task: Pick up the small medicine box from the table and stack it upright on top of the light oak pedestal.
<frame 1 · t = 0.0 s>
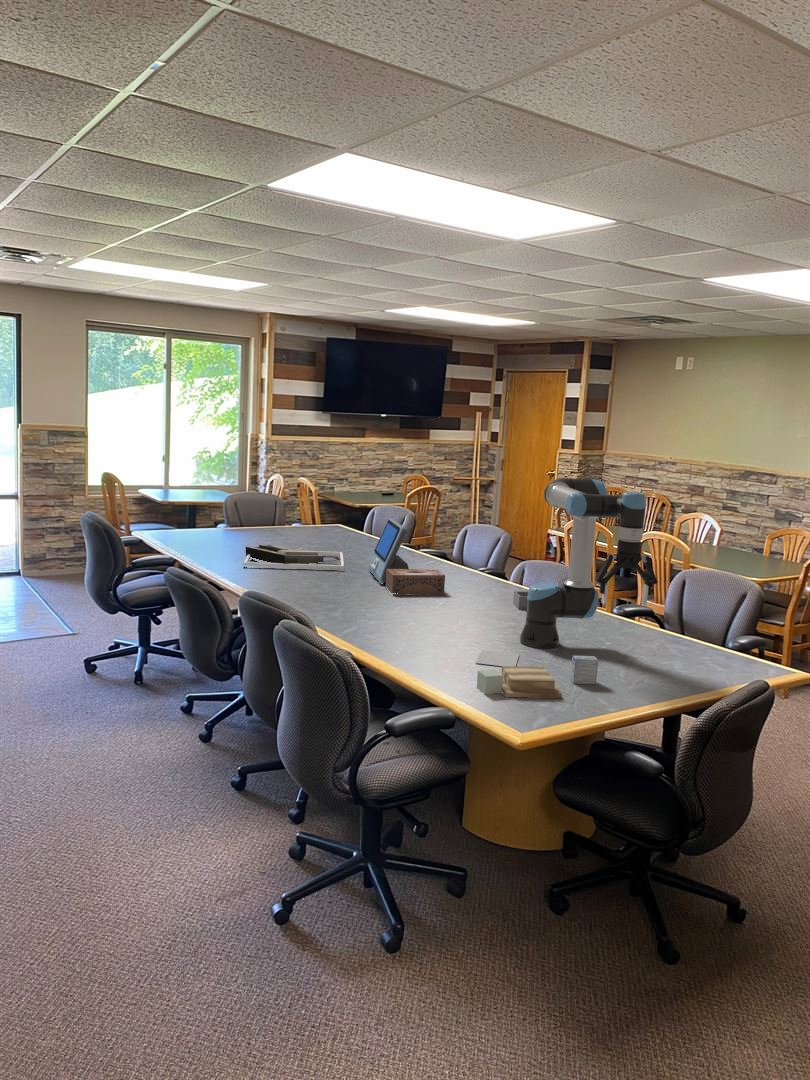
hand: (623, 604, 269), 28 cm above the table, tool pointing down, fingers open, 13 cm apart
mousetrap: (534, 605, 382), on the table, touching desk organizer
document tray rim: (295, 562, 458), on the table
tissue box cover: (414, 592, 400), on the table
pedestal: (526, 688, 266), on the table
green block: (489, 691, 262), on the table
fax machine: (295, 562, 458), on the table, touching document tray rim
touchscreen device: (389, 578, 428), on the table
desk organizer: (537, 607, 381), on the table
medicine box: (582, 683, 276), on the table
paper stack: (509, 665, 291), on the table
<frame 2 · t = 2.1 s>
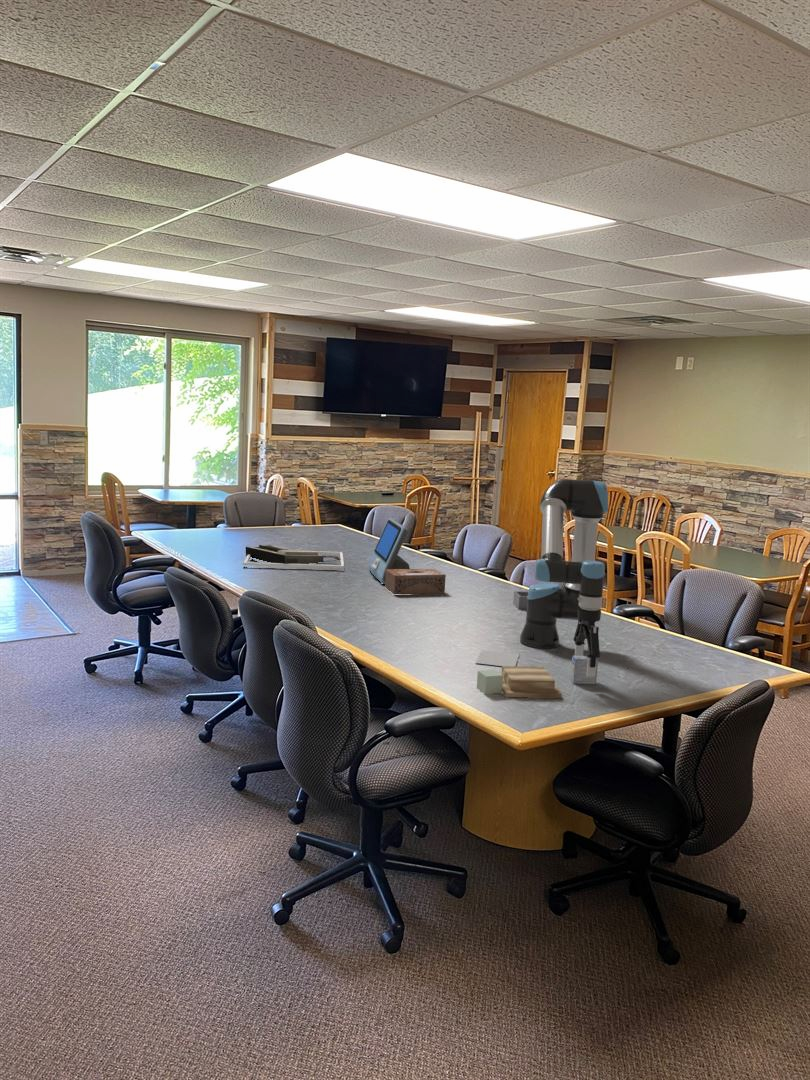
hand: (584, 670, 274), 4 cm above the table, tool pointing down, fingers open, 13 cm apart
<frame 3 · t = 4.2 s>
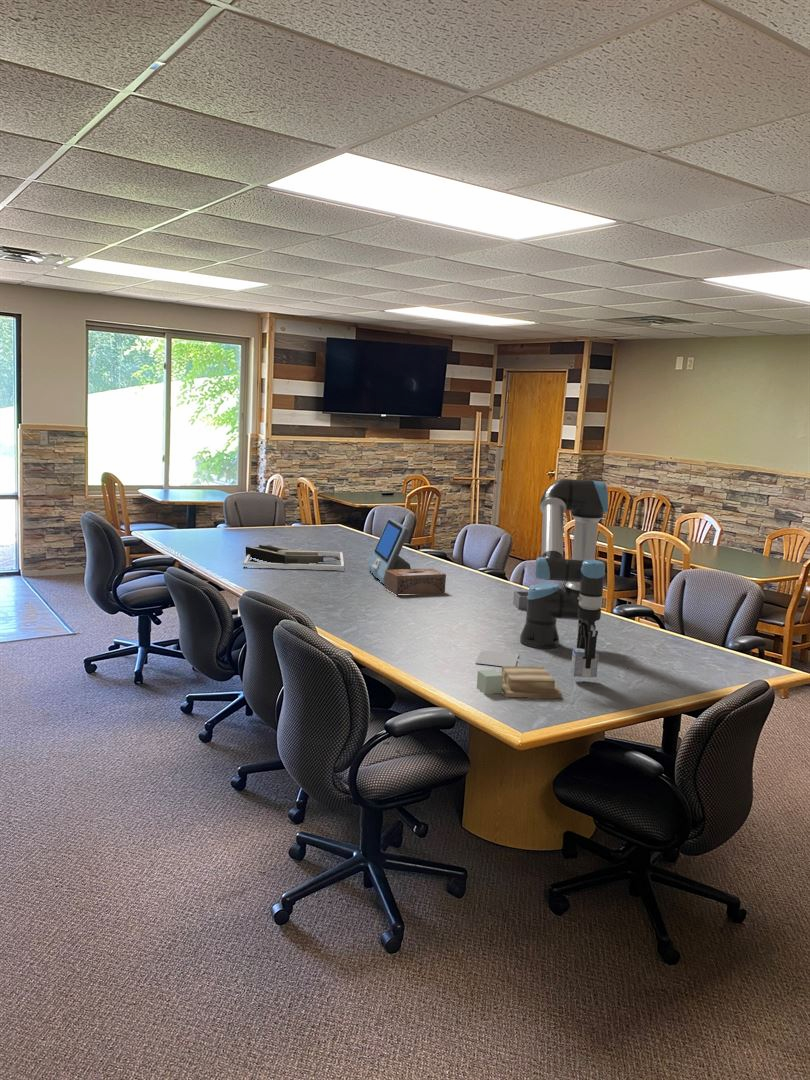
hand: (583, 673, 276), 3 cm above the table, tool pointing down, fingers closed on medicine box, 5 cm apart
medicine box: (583, 675, 276), point 2 cm above the table, touching gripper
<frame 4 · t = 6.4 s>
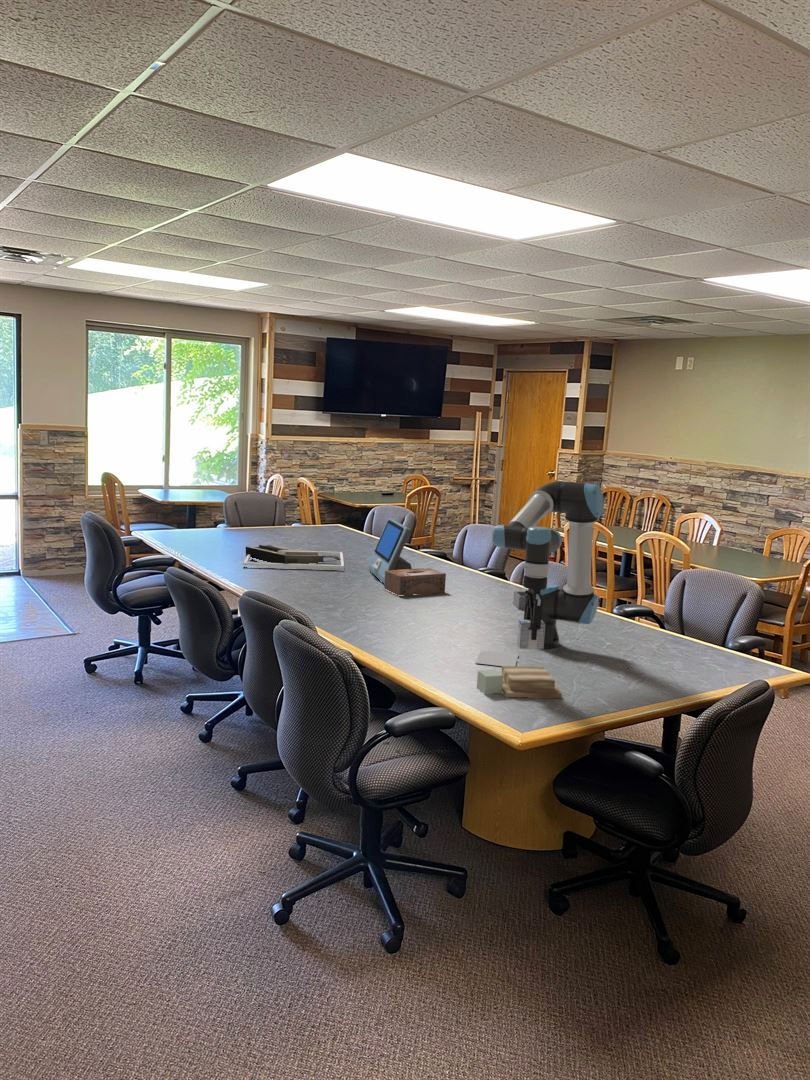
hand: (530, 646, 264), 14 cm above the table, tool pointing down, fingers closed on medicine box, 5 cm apart
medicine box: (530, 648, 264), point 13 cm above the table, touching gripper
when the fingers open (6 cm above the table, at t = 8.4 s): medicine box stays where it is, resting on pedestal.
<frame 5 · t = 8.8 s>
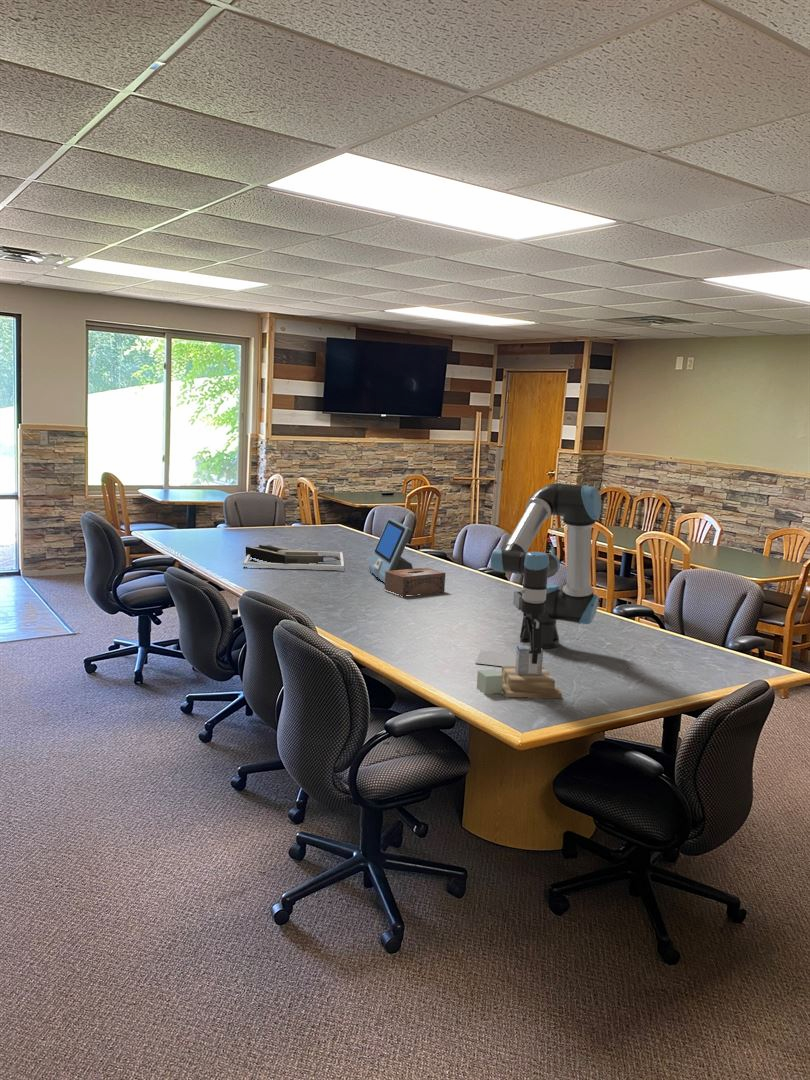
hand: (528, 667, 265), 7 cm above the table, tool pointing down, fingers open, 10 cm apart
medicine box: (528, 674, 266), point 5 cm above the table, touching pedestal
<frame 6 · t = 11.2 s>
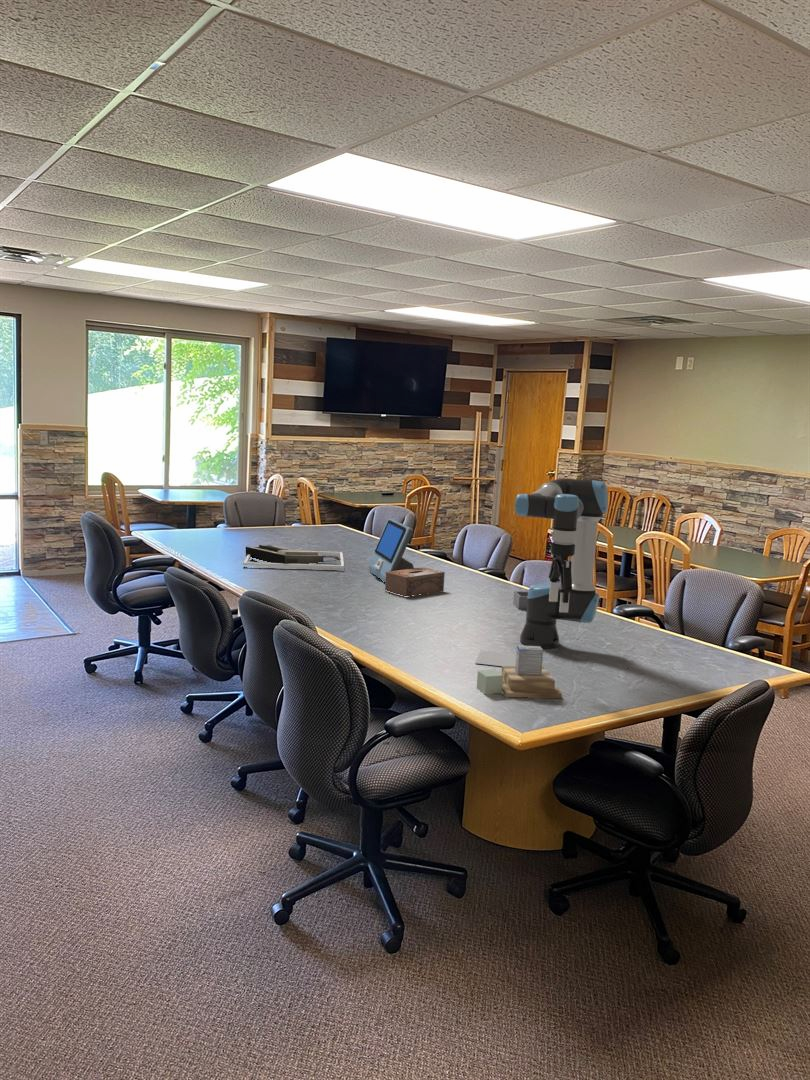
hand: (558, 606, 268), 26 cm above the table, tool pointing down, fingers open, 13 cm apart
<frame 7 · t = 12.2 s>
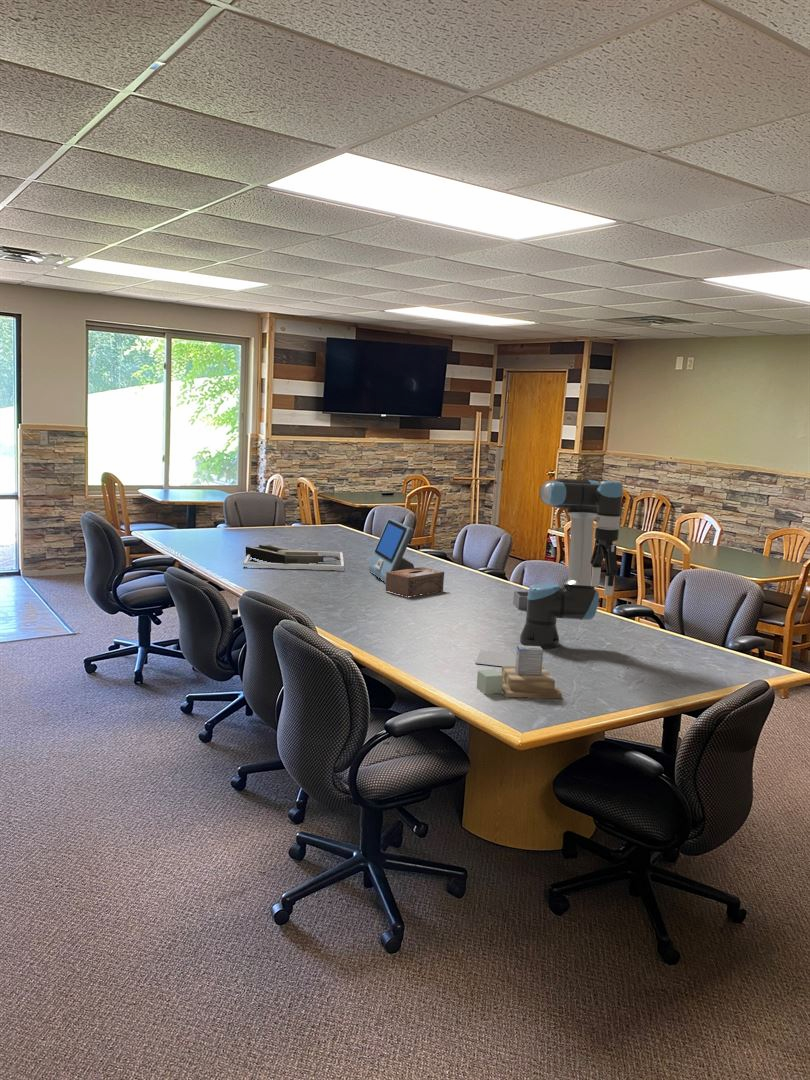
hand: (601, 590, 275), 31 cm above the table, tool pointing down, fingers open, 13 cm apart
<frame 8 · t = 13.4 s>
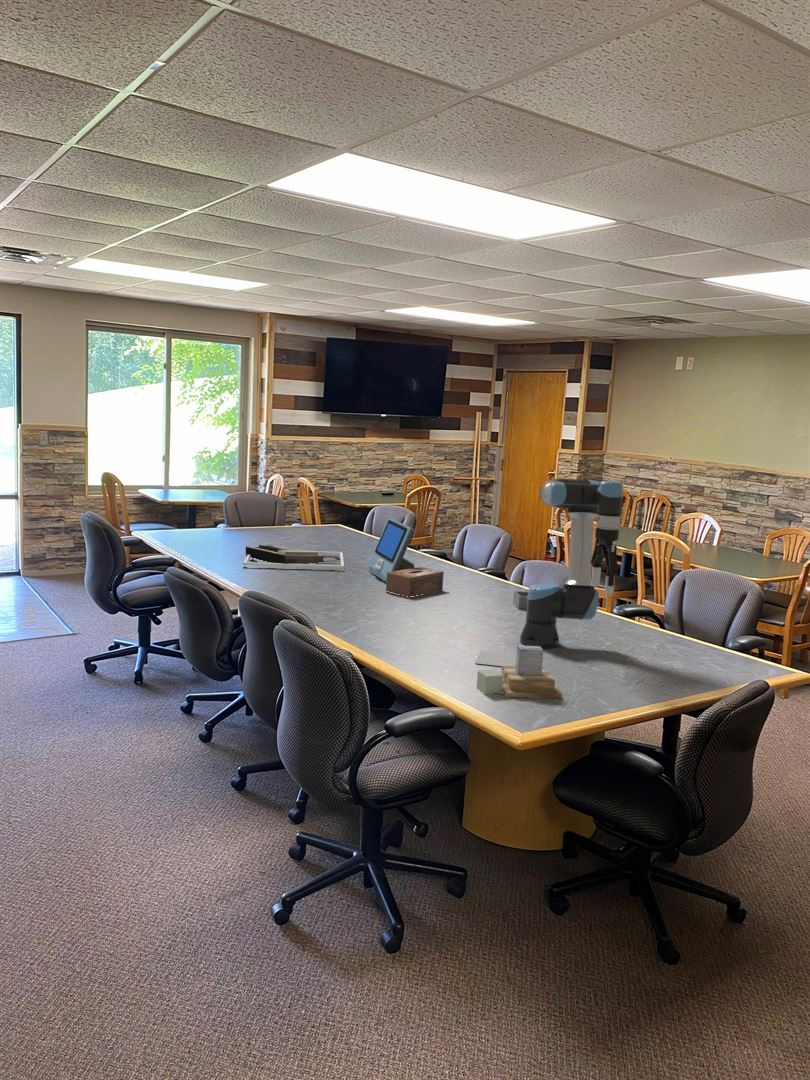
hand: (601, 590, 275), 31 cm above the table, tool pointing down, fingers open, 13 cm apart
at the end: medicine box inside the target area on the pedestal (0.1 cm from its centre), point 4.8 cm above the pedestal's base; medicine box tilted 0°; the gripper is holding nothing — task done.
